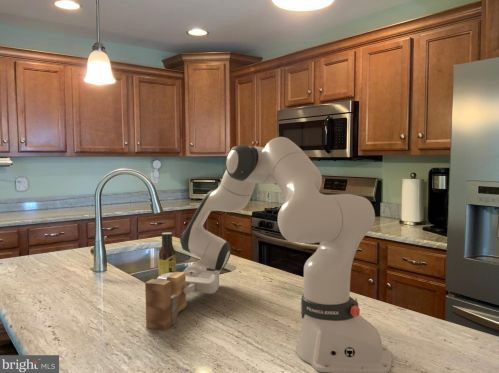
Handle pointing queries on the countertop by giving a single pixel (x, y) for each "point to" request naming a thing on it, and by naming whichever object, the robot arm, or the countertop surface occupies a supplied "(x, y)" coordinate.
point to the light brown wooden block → (178, 288)
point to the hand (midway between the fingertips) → (176, 290)
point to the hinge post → (160, 304)
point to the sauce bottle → (167, 255)
